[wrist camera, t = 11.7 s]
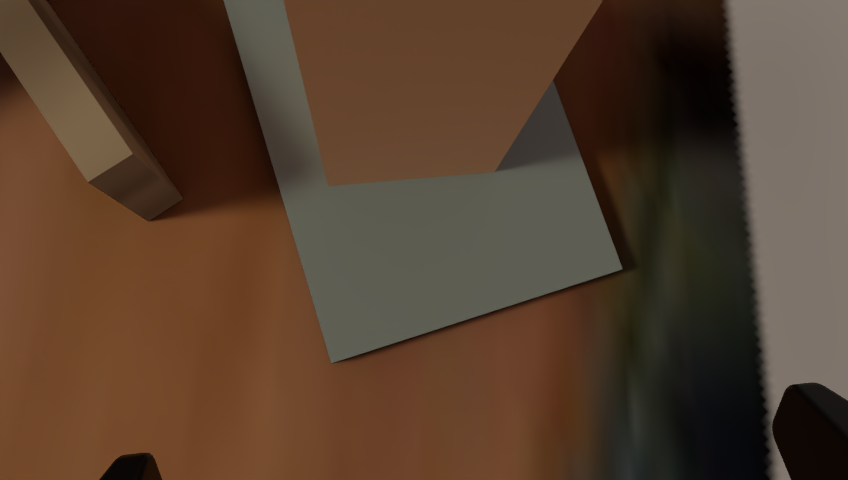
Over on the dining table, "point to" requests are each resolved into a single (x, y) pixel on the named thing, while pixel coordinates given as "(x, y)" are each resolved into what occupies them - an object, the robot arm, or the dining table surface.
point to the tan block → (426, 79)
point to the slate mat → (420, 214)
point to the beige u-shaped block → (82, 109)
